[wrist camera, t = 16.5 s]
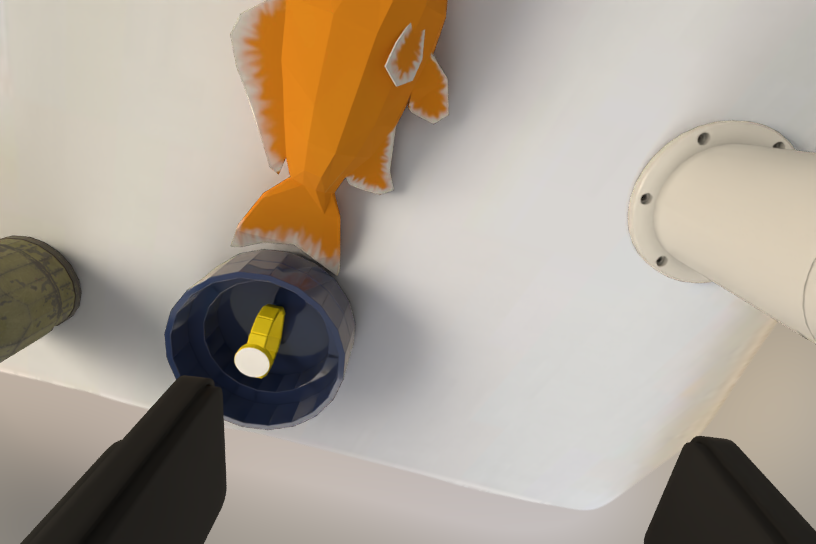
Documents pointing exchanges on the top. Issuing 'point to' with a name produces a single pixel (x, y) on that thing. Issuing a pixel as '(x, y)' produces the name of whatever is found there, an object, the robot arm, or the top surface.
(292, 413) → the navy bowl
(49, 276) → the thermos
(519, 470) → the top surface
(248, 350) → the watch
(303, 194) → the fish
